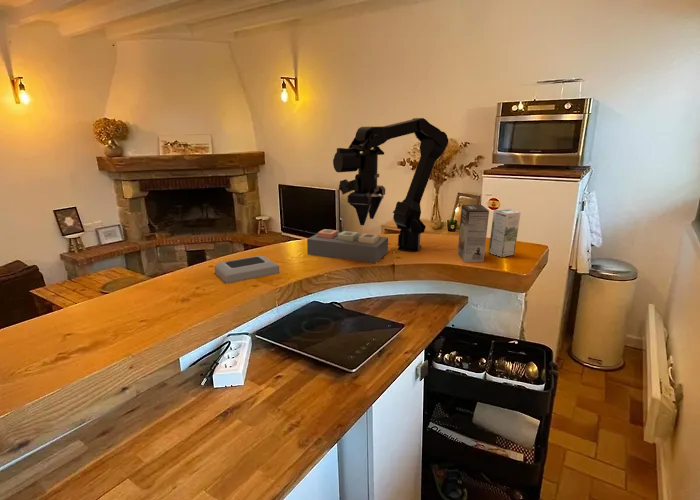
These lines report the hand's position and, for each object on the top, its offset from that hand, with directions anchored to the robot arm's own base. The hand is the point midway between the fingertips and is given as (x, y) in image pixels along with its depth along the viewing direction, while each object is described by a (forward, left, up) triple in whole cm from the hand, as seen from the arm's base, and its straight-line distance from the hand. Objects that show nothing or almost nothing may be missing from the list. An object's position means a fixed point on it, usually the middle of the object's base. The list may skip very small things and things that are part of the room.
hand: (367, 221), depth 129 cm
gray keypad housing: (+6, 0, -11) cm, 13 cm away
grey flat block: (+25, +28, -12) cm, 39 cm away
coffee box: (-31, -11, -11) cm, 35 cm away
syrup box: (-40, -18, -11) cm, 45 cm away
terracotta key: (+13, 0, -8) cm, 15 cm away
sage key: (+6, 0, -8) cm, 10 cm away
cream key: (-1, 0, -7) cm, 8 cm away
